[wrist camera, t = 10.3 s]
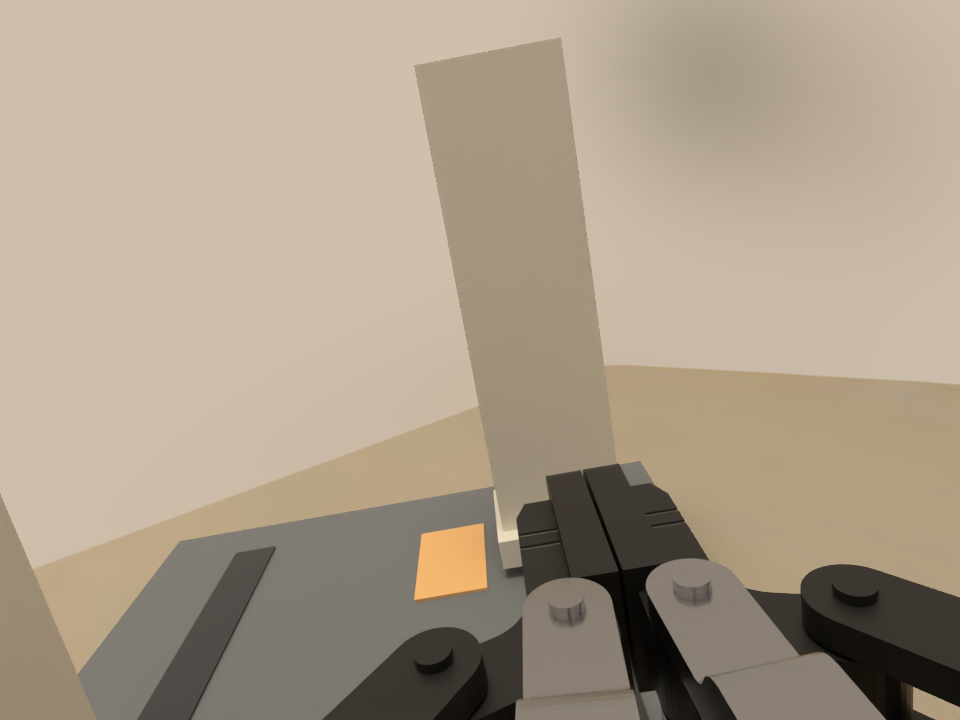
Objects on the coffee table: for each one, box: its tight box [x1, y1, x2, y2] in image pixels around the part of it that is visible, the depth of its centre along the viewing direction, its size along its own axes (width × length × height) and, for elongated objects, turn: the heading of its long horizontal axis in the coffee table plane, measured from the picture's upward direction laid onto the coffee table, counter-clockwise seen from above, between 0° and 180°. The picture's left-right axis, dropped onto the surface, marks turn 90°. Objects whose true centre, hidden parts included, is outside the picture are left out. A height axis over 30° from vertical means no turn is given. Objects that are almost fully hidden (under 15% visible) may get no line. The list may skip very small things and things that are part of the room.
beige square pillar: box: [414, 38, 617, 569], centre depth 21 cm, size 4×4×15 cm
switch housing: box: [78, 461, 662, 720], centre depth 18 cm, size 20×20×2 cm
